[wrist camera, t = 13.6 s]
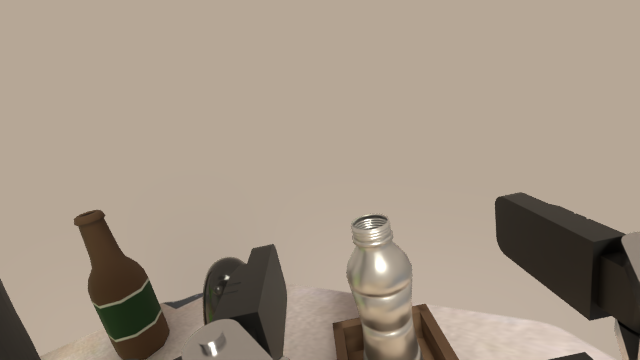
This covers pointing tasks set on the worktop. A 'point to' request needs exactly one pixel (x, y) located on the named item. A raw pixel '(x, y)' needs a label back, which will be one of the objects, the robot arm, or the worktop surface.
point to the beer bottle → (121, 292)
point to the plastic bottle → (382, 291)
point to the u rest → (426, 328)
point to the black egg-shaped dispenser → (217, 285)
